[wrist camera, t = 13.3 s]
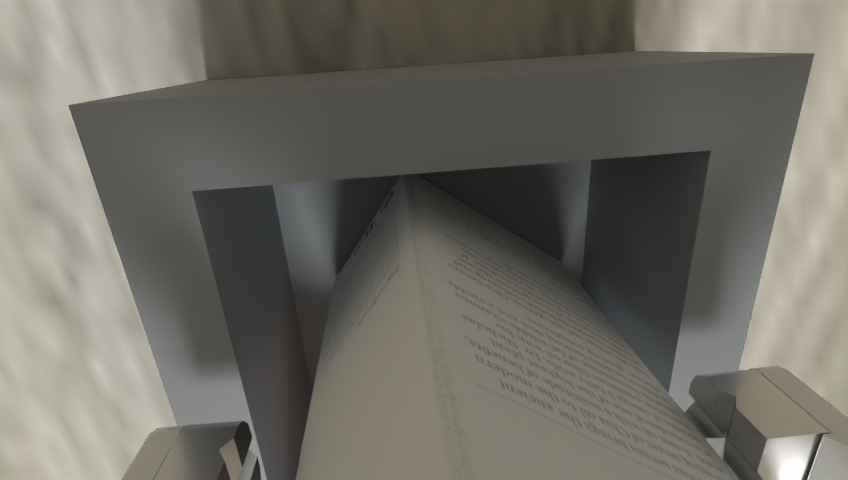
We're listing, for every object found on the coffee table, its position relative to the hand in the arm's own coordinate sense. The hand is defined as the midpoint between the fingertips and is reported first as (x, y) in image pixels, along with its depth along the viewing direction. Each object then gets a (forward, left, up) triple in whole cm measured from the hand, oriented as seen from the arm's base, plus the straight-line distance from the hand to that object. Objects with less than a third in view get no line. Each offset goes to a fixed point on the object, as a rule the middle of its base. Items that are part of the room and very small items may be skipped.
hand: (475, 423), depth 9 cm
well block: (0, 0, -7) cm, 7 cm away
